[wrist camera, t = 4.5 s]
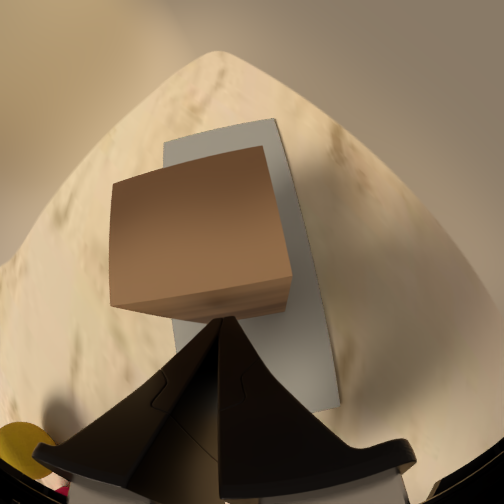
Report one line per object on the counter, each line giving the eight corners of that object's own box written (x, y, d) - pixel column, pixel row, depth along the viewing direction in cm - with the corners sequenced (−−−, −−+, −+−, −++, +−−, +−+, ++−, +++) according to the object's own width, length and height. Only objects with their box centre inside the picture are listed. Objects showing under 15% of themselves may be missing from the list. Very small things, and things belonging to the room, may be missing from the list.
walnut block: (284, 311, 17) (292, 275, 6) (208, 324, 17) (110, 305, 7) (273, 252, 18) (262, 145, 8) (200, 265, 18) (113, 183, 8)
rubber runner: (339, 405, 15) (340, 406, 15) (191, 425, 15) (190, 426, 15) (273, 120, 22) (273, 118, 22) (164, 144, 22) (163, 142, 22)
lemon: (31, 431, 15) (-23, 441, 8) (46, 407, 16) (-16, 415, 9) (62, 474, 14) (10, 494, 6) (81, 454, 15) (21, 478, 7)
